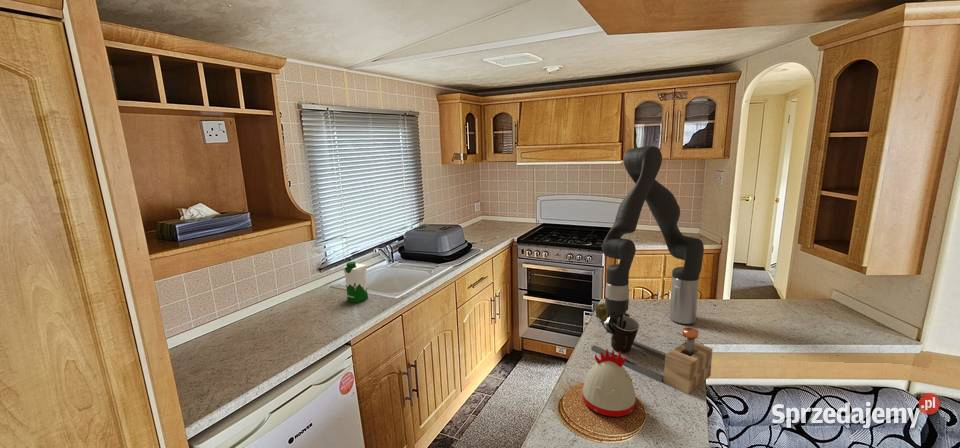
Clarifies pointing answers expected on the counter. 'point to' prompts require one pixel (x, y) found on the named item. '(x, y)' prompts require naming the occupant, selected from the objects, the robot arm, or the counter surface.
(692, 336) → the button
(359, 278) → the milk carton
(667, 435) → the counter surface
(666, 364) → the hollow wooden block stack
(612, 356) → the kitchen timer
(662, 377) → the guide rails
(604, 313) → the potato
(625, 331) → the coffee mug
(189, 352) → the counter surface
